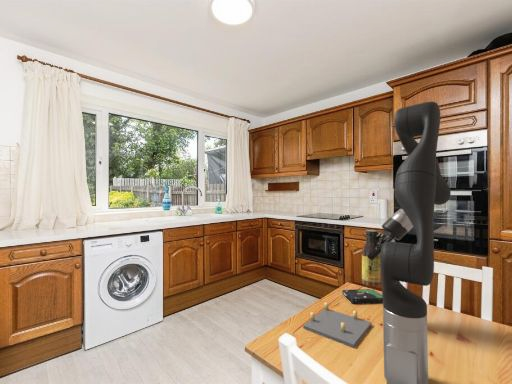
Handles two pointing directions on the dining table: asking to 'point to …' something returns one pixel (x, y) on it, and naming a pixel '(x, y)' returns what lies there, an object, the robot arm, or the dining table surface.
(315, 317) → the standoff mount
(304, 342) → the dining table surface
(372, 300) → the disk drive
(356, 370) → the dining table surface
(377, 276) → the sauce bottle
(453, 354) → the dining table surface
